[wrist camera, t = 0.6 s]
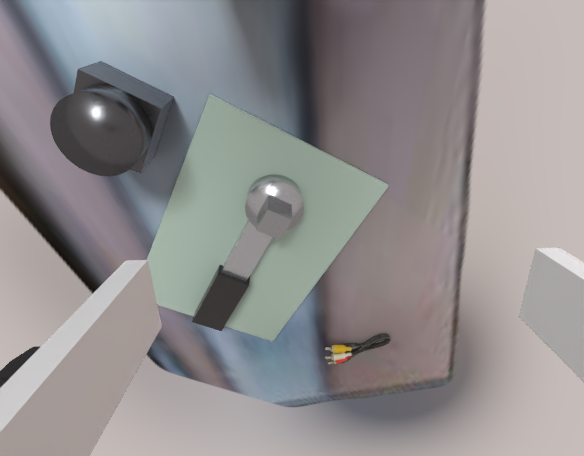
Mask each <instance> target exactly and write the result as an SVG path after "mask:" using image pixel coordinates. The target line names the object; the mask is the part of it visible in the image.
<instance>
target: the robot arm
mask: <svg viewBox="0 0 584 456" xmlns="http://www.w3.org/2000/svg"><path fill="white" fill-rule="evenodd" d="M519 318H520V319H521V320H522V321H524V322H525V324H526V325H527V326H528V327H529V328H530V329H531V330H532V331H533V332H534V333H535V334H536V335H537V336H538V337H539V338H540V339H541V340H542V341H543V342H544V343H545V344H546V345H547V346H548V347H549V348H550V349H551V350H552V351H553V352H554V353H555V354H556V355H557V356H558V357H559V358H560V359H561V360H562V361H563V362H564V363H565V364H566V365H567V366H568V367H569V368H570V369H571V370H572V371H573V372H574V373H575V374H576V375H577V376H578V377H579V378H580V379H581V380H582V381H583V382H584V262H582V261H580V260H579V259H577V258H575V257H574V256H572V255H570V254H568V253H567V252H565V251H563V250H562V249H560V248H536V249H535V253H534V258H533V261H532V265H531V269H530V273H529V277H528V281H527V285H526V290H525V293H524V297H523V302H522V305H521V309H520V313H519ZM161 327H162V325H161V320H160V315H159V311H158V306H157V301H156V297H155V292H154V287H153V282H152V278H151V273H150V268H149V263H148V260H129V261H125V262H124V263H123V264H122V265H121V266H120V267H119V268H118V269H117V270H116V271H115V272H114V273H113V274H112V275H111V276H110V277H109V278H108V279H107V280H106V281H105V282H104V283H103V284H102V285H101V286H100V287H99V288H98V289H97V290H96V291H95V292H94V293H93V294H92V295H91V296H90V297H89V298H88V299H87V300H86V301H85V302H84V303H83V305H81V306H80V307H79V309H77V310H76V312H75V313H74V314H73V315H72V316H71V317H70V318H69V319H68V320H67V321H66V322H65V323H64V324H63V325H62V326H61V327H60V328H59V329H58V330H57V331H56V332H55V333H54V334H53V335H52V336H51V337H50V338H49V339H48V340H47V341H46V342H45V343H44V344H43V345H42V346H41V347H33V348H31V349H29V350H27V351H26V352H24V353H23V354H21V355H20V356H18V357H16V358H15V359H13V360H12V361H10V362H9V363H8V364H7V365H6V366H5V367H4V368H3V369H2V370H1V371H0V456H90V454H91V452H92V451H93V449H94V447H95V445H96V444H97V442H98V440H99V438H100V436H101V435H102V433H103V431H104V429H105V427H106V426H107V424H108V422H109V420H110V418H111V417H112V415H113V413H114V411H115V409H116V408H117V406H118V404H119V402H120V401H121V398H122V397H123V395H124V393H125V392H126V390H127V388H128V386H129V384H130V382H131V381H132V379H133V377H134V375H135V374H136V372H137V370H138V368H139V366H140V365H141V363H142V361H143V359H144V357H145V356H146V354H147V352H148V350H149V348H150V347H151V345H152V343H153V341H154V339H155V338H156V336H157V334H158V332H159V330H160V329H161Z"/></svg>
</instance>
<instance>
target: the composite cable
mask: <svg viewBox="0 0 584 456" xmlns="http://www.w3.org/2000/svg"><path fill="white" fill-rule="evenodd" d="M382 339H385V340H384V341H382V342H378V343H375V342H377V341H379V340H382ZM390 341H391V338H390V336H389V335H388V334H379V335H377V336H375V337H373V338H371V339H370V340H368V341H367V342H365V343H362V344H356V343H348V344H338V345H331V347H326V348H325V350H330V351H331V352H333V353H331V354H330V356H325V359H329V358H330V359H331V360H332V361H330V362H328V364H332V363H334V364H339V363H344V362H346V361H348V360H350V359H351V358H352V357H354V356H355V355H357V354H358V353H360V352H363V351H366V350H370V349H374V348H378V347H381V346H384V345H386V344H388V343H389V342H390ZM373 343H374V344H373Z"/></svg>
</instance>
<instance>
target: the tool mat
mask: <svg viewBox="0 0 584 456" xmlns="http://www.w3.org/2000/svg"><path fill="white" fill-rule="evenodd" d="M271 174H278V175H283V176H286V177H288V178H290V179H292V180H293V181H294V182H295V183H296V184H297V185H298V186H299V188H300V190H301V192H302V196H303V206H304V212H303V216H302V218H301V220H300V222H299V223H298V224H297V225H296V226H295V227H294V228H292V229H291V230H289V231H286V232H285V233H284V235H283V236H282V238H281V240H278V239H276V238H272V239H271V241H270V243H269V244H268V246H267V248H266V249H265V251H264V253H263V254H262V256H261V258H260V259H259V261H258V263H257V264H256V266H255V268H254V269H253V271H252V273H251V274H250V282H249V287H248V288H247V290H246V292H245V293H244V295H243V297H242V298H241V300H240V301H239V303H238V305H237V306H236V308H235V310H234V311H233V313H232V315H231V316H230V318H229V319H228V321H227V323H226V324H225V327H228V328H232V329H235V330H238V331H241V332H244V333H247V334H251V335H254V336H257V337H260V338H263V339H266V340H269V341H274V339H275V338H276V337H277V335H278V334H279V333H280V331H281V330H282V329H283V327H284V326H285V324H286V323H287V322H288V320H289V319H290V318H291V316H292V315H293V314H294V312H295V311H296V310H297V308H298V307H299V306H300V304H301V303H302V302H303V300H304V299H305V298H306V296H307V295H308V294H309V292H310V291H311V290H312V288H313V287H314V286H315V284H316V283H317V282H318V280H319V279H320V278H321V276H322V275H323V274H324V272H325V271H326V270H327V268H328V267H329V266H330V264H331V263H332V262H333V260H334V259H335V258H336V256H337V255H338V254H339V252H340V251H341V250H342V248H343V247H344V245H345V244H346V243H347V241H348V240H349V239H350V237H351V236H352V235H353V233H354V232H355V231H356V229H357V228H358V227H359V225H360V224H361V223H362V221H363V220H364V219H365V217H366V216H367V215H368V213H369V212H370V211H371V209H372V208H373V207H374V205H375V204H376V203H377V201H378V200H379V199H380V197H381V196H382V195H383V193H384V192H385V191H386V189H387V188H388V187H389V185H388V184H387V183H385V182H383V181H381V180H379V179H377V178H375V177H373V176H371V175H369V174H367V173H365V172H363V171H361V170H359V169H357V168H355V167H353V166H351V165H350V164H348V163H346V162H344V161H342V160H340V159H338V158H336V157H334V156H332V155H330V154H328V153H326V152H324V151H322V150H320V149H318V148H316V147H314V146H312V145H310V144H308V143H306V142H304V141H302V140H300V139H298V138H296V137H295V136H293V135H291V134H289V133H287V132H285V131H283V130H281V129H279V128H277V127H275V126H273V125H271V124H269V123H267V122H265V121H263V120H261V119H259V118H257V117H255V116H253V115H251V114H249V113H247V112H245V111H243V110H241V109H239V108H238V107H236V106H234V105H232V104H230V103H228V102H226V101H224V100H222V99H220V98H218V97H216V96H214V95H212V94H209V97H208V99H207V102H206V104H205V107H204V110H203V112H202V115H201V118H200V120H199V123H198V126H197V128H196V131H195V134H194V136H193V139H192V141H191V144H190V147H189V149H188V152H187V155H186V157H185V160H184V163H183V165H182V168H181V171H180V173H179V176H178V178H177V181H176V184H175V186H174V189H173V192H172V194H171V197H170V200H169V202H168V205H167V208H166V210H165V213H164V216H163V218H162V221H161V223H160V226H159V229H158V231H157V234H156V237H155V239H154V242H153V245H152V247H151V250H150V253H149V255H148V258H147V260H148V263H149V268H150V273H151V278H152V282H153V287H154V292H155V297H156V301H157V305H159V306H162V307H165V308H169V309H172V310H175V311H178V312H181V313H184V314H188V315H191V316H194V314H195V311H196V309H197V307H198V305H199V303H200V301H201V299H202V298H203V296H204V294H205V292H206V290H207V288H208V286H209V284H210V282H211V280H212V279H213V277H214V275H215V273H216V271H217V269H218V267H219V265H222V266H223V265H224V263H225V261H226V259H227V257H228V255H229V253H230V252H231V250H232V248H233V246H234V244H235V242H236V240H237V239H238V237H239V235H240V233H241V231H242V229H243V227H244V225H245V224H246V222H247V220H248V218H247V215H246V212H245V204H246V198H247V193H248V190H249V188H250V186H251V185H252V184H253V183H254V182H255V181H256V180H257V179H259V178H261V177H263V176H266V175H271Z"/></svg>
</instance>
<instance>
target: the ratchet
mask: <svg viewBox="0 0 584 456" xmlns="http://www.w3.org/2000/svg"><path fill="white" fill-rule="evenodd" d="M245 212H246V215H247V218H248V220H247V222H246V224H245V225H244V227H243V229H242V231H241V233H240V235H239V237H238V239H237V240H236V242H235V244H234V246H233V248H232V250H231V252H230V253H229V255H228V257H227V259H226V261H225V263H224V265H223V266H222V265H219V267H218V269H217V271H216V273H215V275H214V277H213V279H212V280H211V282H210V284H209V286H208V288H207V290H206V292H205V294H204V296H203V298H202V299H201V301H200V303H199V305H198V307H197V309H196V311H195V314H194V317H193V321H192V322H194V323H197V324H200V325H204V326H207V327H210V328H213V329H216V330H220V331H222V329H223V328H224V326H225V324H226V323H227V321H228V319H229V318H230V316H231V315H232V313H233V311H234V310H235V308H236V306H237V305H238V303H239V301H240V300H241V298H242V297H243V295H244V293H245V292H246V290H247V288H248V287H249V282H250V274H251V273H252V271H253V269H254V268H255V266H256V264H257V263H258V261H259V259H260V258H261V256H262V254H263V253H264V251H265V249H266V248H267V246H268V244H269V243H270V241H271V239H272V238H276V239H278V240H281V238H282V236H283V235H284V233H285V232H286V231H289V230H291V229H292V228H294V227H295V226H296V225H297V224H298V223H299V222H300V220H301V218H302V216H303V212H304V206H303V196H302V192H301V190H300V188H299V186H298V185H297V184H296V183H295V182H294V181H293V180H292V179H290V178H288V177H286V176H283V175H278V174H271V175H266V176H263V177H261V178H259V179H257V180H256V181H255V182H254V183H253V184H252V185H251V186H250V188H249V190H248V193H247V198H246V204H245Z"/></svg>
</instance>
